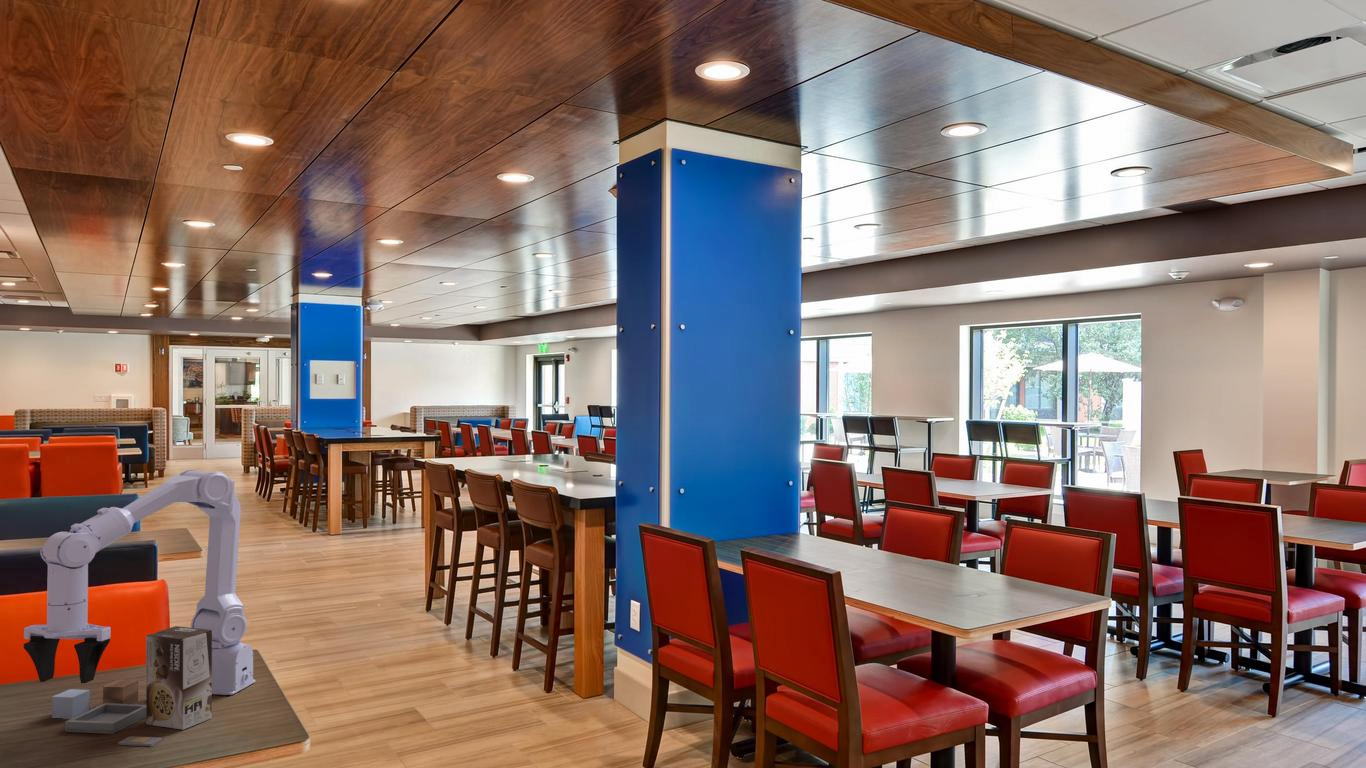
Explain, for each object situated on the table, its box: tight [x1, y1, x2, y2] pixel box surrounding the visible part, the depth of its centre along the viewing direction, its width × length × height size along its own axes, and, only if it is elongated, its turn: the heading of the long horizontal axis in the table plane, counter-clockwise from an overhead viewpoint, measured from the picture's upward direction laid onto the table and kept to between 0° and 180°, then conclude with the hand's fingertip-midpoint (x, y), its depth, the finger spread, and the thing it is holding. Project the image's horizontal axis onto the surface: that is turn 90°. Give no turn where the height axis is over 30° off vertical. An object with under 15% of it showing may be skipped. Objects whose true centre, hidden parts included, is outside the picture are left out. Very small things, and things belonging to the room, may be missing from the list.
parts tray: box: [64, 703, 146, 735], centre depth 153 cm, size 9×9×2 cm
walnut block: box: [102, 679, 139, 704], centre depth 162 cm, size 4×4×4 cm
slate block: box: [51, 688, 91, 720], centre depth 157 cm, size 4×4×4 cm
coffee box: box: [145, 625, 213, 731], centre depth 154 cm, size 9×6×16 cm
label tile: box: [117, 735, 164, 747], centre depth 144 cm, size 6×3×1 cm, turn 84°
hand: (66, 680), depth 147 cm, fingers open, 7 cm apart
